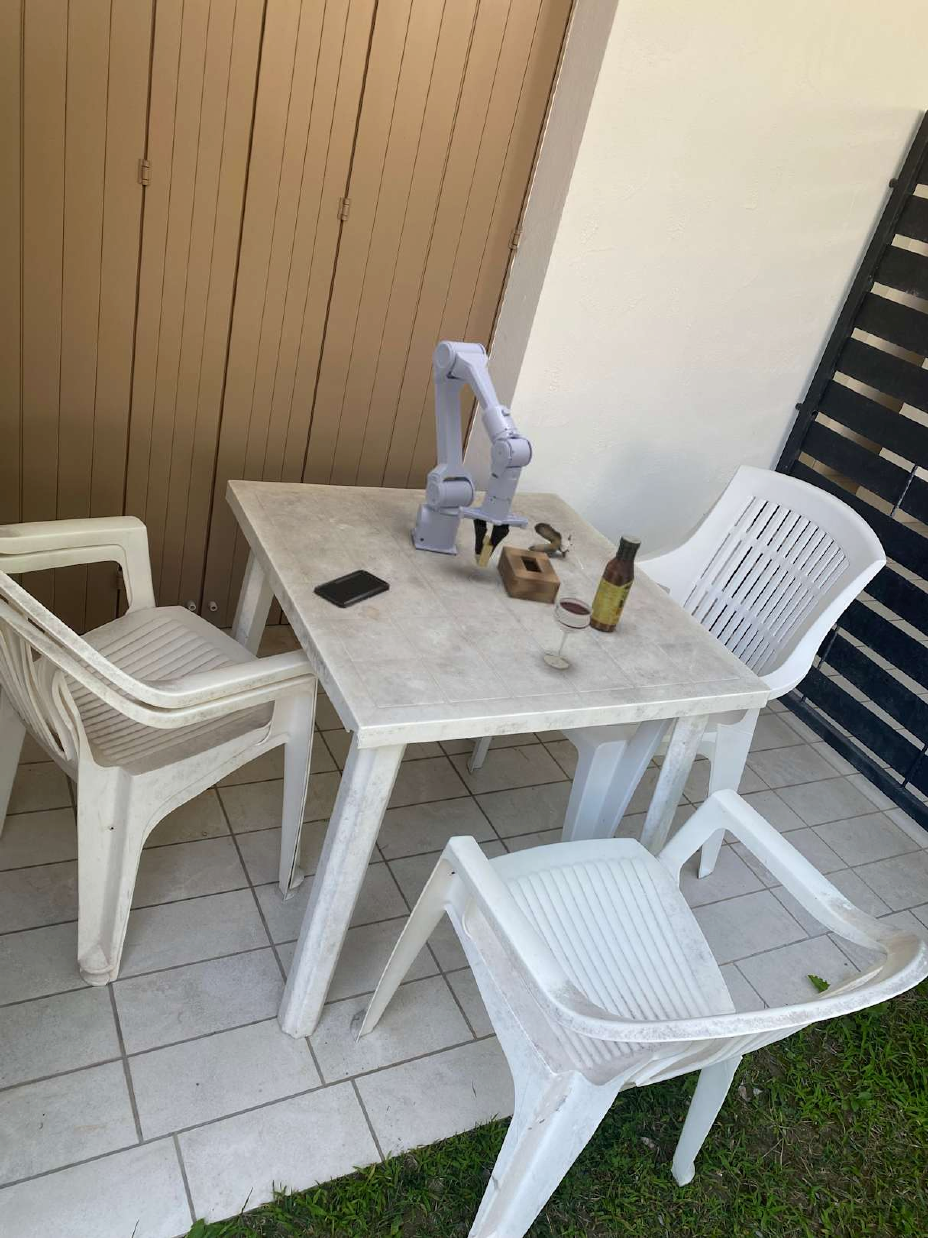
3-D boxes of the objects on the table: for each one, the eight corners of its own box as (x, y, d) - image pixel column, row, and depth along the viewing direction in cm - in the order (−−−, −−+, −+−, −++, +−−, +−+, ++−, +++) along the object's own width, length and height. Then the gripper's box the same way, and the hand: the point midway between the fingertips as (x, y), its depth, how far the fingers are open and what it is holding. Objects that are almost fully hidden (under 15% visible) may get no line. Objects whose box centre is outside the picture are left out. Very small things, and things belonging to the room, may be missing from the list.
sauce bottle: (614, 636, 190) (646, 550, 181) (585, 626, 190) (616, 540, 181) (616, 622, 196) (647, 538, 186) (587, 613, 196) (617, 528, 187)
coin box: (508, 597, 194) (515, 576, 191) (497, 566, 205) (503, 545, 203) (553, 603, 196) (560, 583, 194) (539, 572, 208) (546, 553, 205)
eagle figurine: (563, 543, 223) (530, 529, 221) (577, 528, 217) (543, 514, 215) (559, 569, 220) (525, 555, 218) (573, 555, 214) (538, 541, 212)
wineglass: (544, 646, 179) (563, 593, 173) (577, 660, 177) (597, 606, 172) (534, 661, 173) (553, 606, 167) (568, 675, 172) (588, 620, 166)
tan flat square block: (477, 565, 194) (483, 544, 191) (474, 555, 198) (480, 534, 196) (486, 567, 194) (493, 546, 192) (483, 556, 199) (489, 535, 196)
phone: (392, 585, 184) (343, 606, 172) (391, 590, 184) (342, 611, 172) (361, 568, 187) (311, 587, 175) (360, 573, 187) (310, 592, 175)
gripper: (468, 496, 184) (451, 556, 190) (537, 508, 187) (518, 567, 194) (463, 482, 190) (447, 541, 196) (530, 494, 193) (512, 552, 200)
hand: (482, 553), depth 195 cm, fingers closed on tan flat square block, 2 cm apart
